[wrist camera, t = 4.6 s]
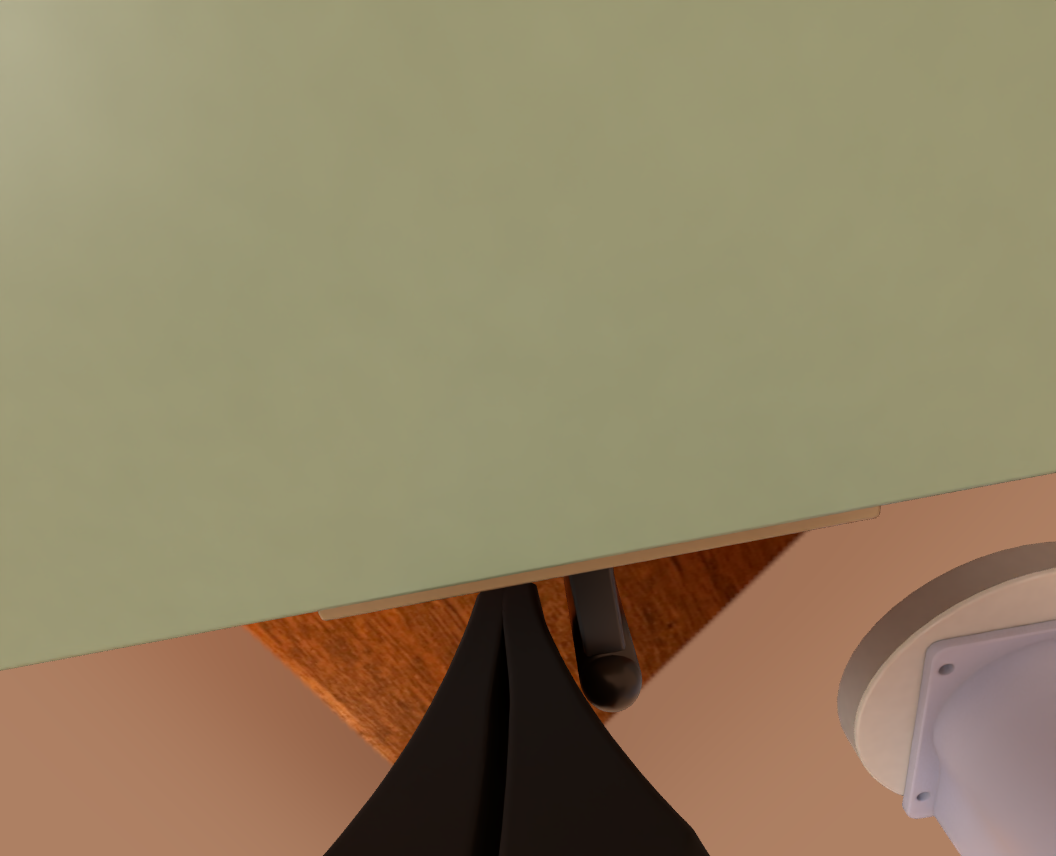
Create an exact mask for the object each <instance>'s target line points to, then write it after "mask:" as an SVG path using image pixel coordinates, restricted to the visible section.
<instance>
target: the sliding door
mask: <svg viewBox="0 0 1056 856" xmlns="http://www.w3.org/2000/svg"><path fill="white" fill-rule="evenodd" d="M880 508H881V506H876V507H871V508H865V509H860V510H855V511H849V512H844V513H839V514H833V515H828V516H823V517H817V518H812V519H807V520H801V521H796V522H791V523H785V524H780V525H775V526H769V527H764V528H759V529H753V530H748V531H743V532H737V533H732V534H727V535H721V536H716V537H711V538H705V539H700V540H695V541H689V542H684V543H679V544H673V545H668V546H663V547H657V548H652V549H647V550H641V551H636V552H631V553H625V554H620V555H615V556H609V557H604V558H599V559H593V560H588V561H583V562H577V563H572V564H567V565H561V566H556V567H551V568H545V569H540V570H535V571H529V572H524V573H519V574H513V575H508V576H503V577H497V578H492V579H487V580H481V581H476V582H471V583H465V584H460V585H455V586H449V587H444V588H439V589H433V590H428V591H423V592H417V593H412V594H407V595H401V596H396V597H391V598H385V599H380V600H375V601H369V602H364V603H359V604H353V605H348V606H343V607H337V608H332V609H327V610H321V611H318V613H319V615H320V617H321V619H323V620H326V621H327V620H333V619H338V618H343V617H349V616H354V615H359V614H365V613H370V612H375V611H381V610H386V609H391V608H397V607H402V606H408V605H413V604H418V603H424V602H429V601H434V600H440V599H445V598H450V597H456V596H461V595H466V594H472V593H477V592H483V591H488V590H493V589H499V588H504V587H509V586H515V585H520V584H525V583H531V582H536V581H541V580H547V579H552V578H558V577H563V578H564V584H565V590H566V597H567V603H568V609H569V616H570V622H571V628H572V635H573V641H574V647H575V653H576V660H577V666H578V672H579V679H580V684H581V688H582V691H583V693H584V695H585V696H586V698H587V699H588V701H589V702H590V703H591V704H593V705H594V706H595V707H597V708H599V709H600V710H603V711H607V712H619V711H622V710H624V709H626V708H628V707H630V706H631V705H632V704H633V703H634V702H635V700H636V699H637V697H638V696H639V693H640V690H641V685H642V676H641V670H640V667H639V663H638V660H637V656H636V653H635V649H634V645H633V642H632V638H631V635H630V631H629V628H628V624H627V621H626V617H625V613H624V610H623V606H622V603H621V599H620V596H619V592H618V588H617V585H616V581H615V577H614V570H613V567H616V566H622V565H627V564H633V563H638V562H643V561H649V560H654V559H659V558H665V557H670V556H675V555H681V554H686V553H691V552H697V551H702V550H708V549H713V548H718V547H724V546H729V545H734V544H740V543H745V542H750V541H756V540H761V539H766V538H772V537H777V536H782V535H788V534H793V533H799V532H804V531H809V530H815V529H820V528H825V527H831V526H836V525H841V524H847V523H852V522H857V521H863V520H868V519H874V518H876V517H878V516H879V514H880Z"/></svg>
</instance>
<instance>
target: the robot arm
mask: <svg viewBox="0 0 1056 856" xmlns="http://www.w3.org/2000/svg"><path fill="white" fill-rule="evenodd" d="M902 806H903V809H904V810H905V812H906V813H907V815H908V816H909V817H911V818H915V819H918V818H926V817H932V816H935V817H936V819H937V821H938V822H939V824H940V825H941V827H942V828H943V829H944V831H945V833H946V834H947V836H948V837H949V839H950V840H951V841H952V843H953V844H954V846H955V847H956V849H957V851H958V852H959V854H960V855H961V856H1056V620H1050V621H1045V622H1039V623H1034V624H1028V625H1022V626H1017V627H1011V628H1005V629H1000V630H994V631H988V632H983V633H977V634H972V635H966V636H960V637H955V638H949V639H943V640H939V641H936V642H934V643H933V644H931V645H930V646H929V647H928V649H927V651H926V655H925V662H924V668H923V675H922V681H921V688H920V694H919V700H918V707H917V713H916V720H915V726H914V733H913V739H912V745H911V752H910V758H909V765H908V771H907V777H906V784H905V790H904V797H903V803H902ZM323 856H710V855H709V854H708V852H707V851H706V849H705V847H704V846H703V844H702V843H701V841H700V840H699V838H698V836H697V835H696V833H695V831H694V830H693V829H692V827H691V826H690V825H689V824H688V823H687V822H686V821H685V820H684V819H683V818H682V817H681V816H680V815H679V814H678V813H677V812H676V811H675V810H674V809H673V808H672V807H671V806H670V805H669V804H668V803H667V801H666V800H665V799H664V798H663V797H662V796H661V795H660V794H659V793H658V792H657V791H656V789H655V788H654V787H653V786H652V785H651V784H650V783H649V781H648V780H647V779H646V778H645V777H644V776H643V775H642V774H641V772H640V771H639V770H638V769H637V767H636V766H635V765H634V764H633V762H632V761H631V760H630V759H629V757H628V756H627V755H626V754H625V753H624V751H623V750H622V749H621V747H620V746H619V745H618V744H617V742H616V741H615V740H614V739H613V737H612V736H611V735H610V733H609V732H608V731H607V729H606V728H605V726H604V725H603V723H602V722H601V721H600V719H599V718H598V716H597V715H596V714H595V712H594V711H593V709H592V708H591V706H590V705H589V703H588V702H587V700H586V698H585V697H584V695H583V694H582V692H581V690H580V689H579V687H578V686H577V684H576V682H575V680H574V679H573V677H572V675H571V673H570V672H569V670H568V668H567V666H566V665H565V663H564V661H563V659H562V657H561V655H560V653H559V651H558V649H557V647H556V645H555V643H554V641H553V639H552V636H551V634H550V632H549V630H548V627H547V625H546V622H545V619H544V615H543V611H542V607H541V602H540V598H539V594H538V590H537V586H536V585H535V584H533V583H525V584H520V585H515V586H509V587H504V588H499V589H493V590H488V591H483V592H480V593H479V595H478V596H477V599H476V602H475V605H474V608H473V611H472V614H471V617H470V619H469V622H468V625H467V627H466V630H465V632H464V635H463V637H462V640H461V642H460V644H459V647H458V649H457V651H456V653H455V656H454V658H453V660H452V662H451V665H450V667H449V669H448V671H447V673H446V675H445V677H444V679H443V681H442V683H441V685H440V687H439V689H438V691H437V693H436V695H435V697H434V699H433V701H432V703H431V705H430V706H429V708H428V710H427V712H426V714H425V715H424V717H423V719H422V721H421V722H420V724H419V726H418V728H417V729H416V731H415V732H414V734H413V736H412V737H411V739H410V741H409V742H408V744H407V745H406V747H405V749H404V750H403V752H402V753H401V755H400V756H399V758H398V759H397V761H396V762H395V763H394V765H393V766H392V768H391V769H390V771H389V772H388V774H387V775H386V777H385V778H384V780H383V781H382V782H381V784H380V785H379V787H378V788H377V789H376V791H375V792H374V793H373V795H372V796H371V797H370V799H369V800H368V801H367V803H366V804H365V805H364V806H363V808H362V809H361V810H360V811H359V813H358V814H357V815H356V816H355V818H354V819H353V820H352V822H351V823H350V824H349V825H348V826H347V828H346V829H345V830H344V832H343V833H342V834H341V835H340V836H339V838H338V839H337V840H336V842H334V844H333V845H332V846H331V847H330V848H329V850H328V851H327V852H326V853H325V854H324V855H323Z"/></svg>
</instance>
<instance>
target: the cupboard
mask: <svg viewBox="0 0 1056 856" xmlns="http://www.w3.org/2000/svg"><path fill="white" fill-rule="evenodd" d="M1052 473H1056V0H0V671H1V670H7V669H12V668H17V667H23V666H28V665H33V664H39V663H44V662H49V661H55V660H60V659H65V658H71V657H76V656H81V655H87V654H91V653H97V652H103V651H108V650H113V649H118V648H124V647H129V646H135V645H140V644H145V643H151V642H156V641H161V640H167V639H172V638H177V637H182V636H188V635H193V634H198V633H204V632H209V631H215V630H220V629H225V628H231V627H236V626H241V625H247V624H252V623H257V622H263V621H268V620H273V619H279V618H284V617H289V616H295V615H300V614H305V613H311V612H316V611H321V610H327V609H332V608H337V607H343V606H348V605H353V604H359V603H364V602H369V601H375V600H380V599H385V598H391V597H396V596H401V595H407V594H412V593H417V592H423V591H428V590H433V589H439V588H444V587H449V586H455V585H460V584H465V583H471V582H476V581H481V580H487V579H492V578H497V577H503V576H508V575H513V574H519V573H524V572H529V571H535V570H540V569H545V568H551V567H556V566H561V565H567V564H572V563H577V562H583V561H588V560H593V559H599V558H604V557H609V556H615V555H620V554H625V553H631V552H636V551H641V550H647V549H652V548H657V547H663V546H668V545H673V544H679V543H684V542H689V541H695V540H700V539H705V538H711V537H716V536H721V535H727V534H732V533H737V532H743V531H748V530H753V529H759V528H764V527H769V526H775V525H780V524H785V523H791V522H796V521H801V520H807V519H812V518H817V517H823V516H828V515H833V514H839V513H844V512H849V511H855V510H860V509H865V508H871V507H876V506H881V505H887V504H892V503H897V502H903V501H908V500H913V499H919V498H924V497H929V496H935V495H940V494H945V493H950V492H956V491H961V490H967V489H972V488H977V487H983V486H988V485H993V484H999V483H1004V482H1009V481H1015V480H1020V479H1025V478H1030V477H1035V476H1041V475H1047V474H1052Z"/></svg>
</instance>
